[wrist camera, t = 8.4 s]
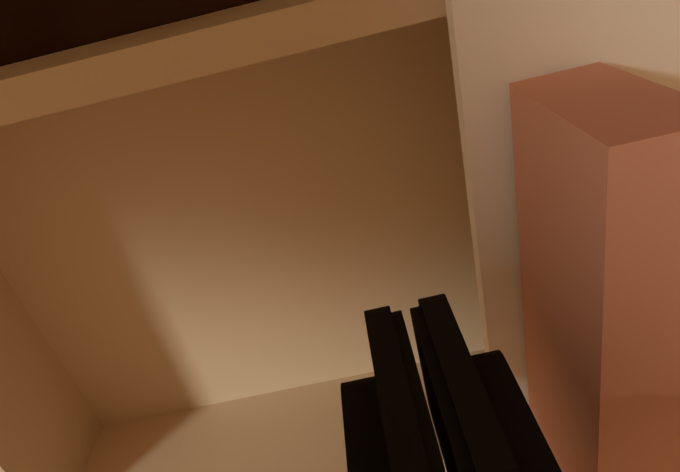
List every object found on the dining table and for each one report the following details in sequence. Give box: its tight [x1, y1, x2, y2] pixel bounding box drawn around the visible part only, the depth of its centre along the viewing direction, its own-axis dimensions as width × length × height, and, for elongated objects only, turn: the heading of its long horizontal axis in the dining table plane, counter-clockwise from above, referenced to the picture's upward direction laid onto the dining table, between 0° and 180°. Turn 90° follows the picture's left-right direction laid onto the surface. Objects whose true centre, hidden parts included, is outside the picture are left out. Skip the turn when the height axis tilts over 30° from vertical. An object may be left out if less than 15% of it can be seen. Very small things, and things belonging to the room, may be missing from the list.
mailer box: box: [0, 0, 485, 472], centre depth 15 cm, size 14×26×5 cm, turn 103°
